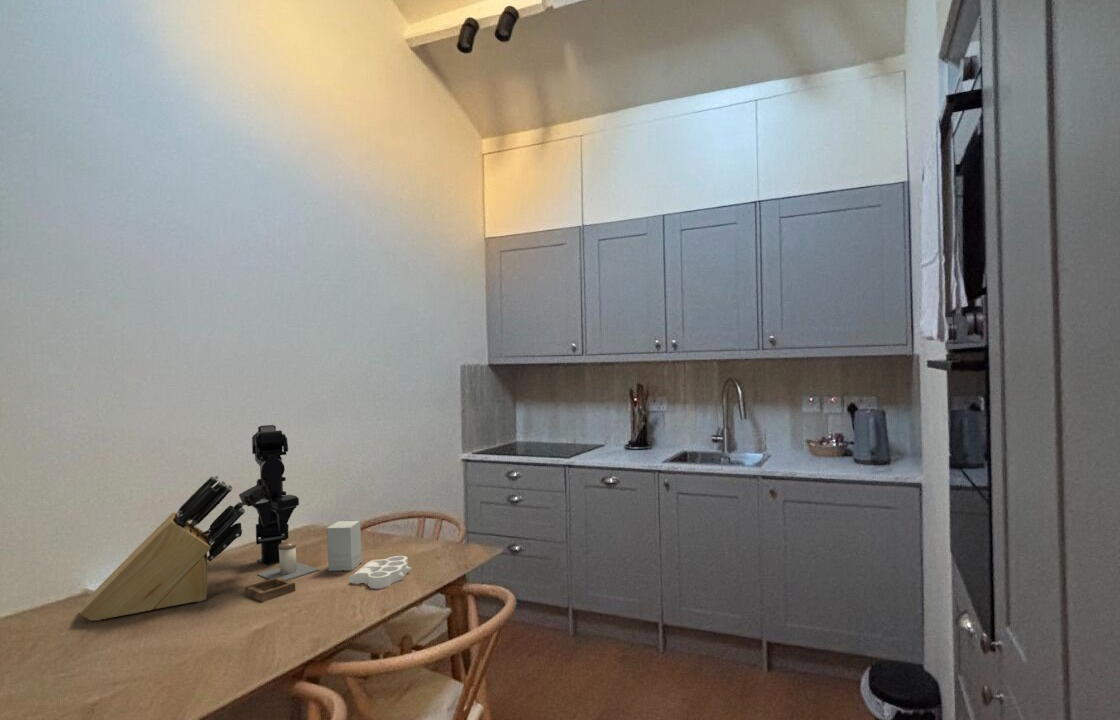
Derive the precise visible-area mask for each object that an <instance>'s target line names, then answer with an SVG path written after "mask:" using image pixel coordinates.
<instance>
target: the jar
mask: <svg viewBox="0 0 1120 720" xmlns="http://www.w3.org/2000/svg"><path fill="white" fill-rule="evenodd" d="M278 547H279V562H278V563H279V567H280V574H290V573H293V572H295V571H297V568H296V562H297V551H296V549H297V542H296V541H294V540H293V541H285V542H282V543H281V544H279V545H278Z"/></svg>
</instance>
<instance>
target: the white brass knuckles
mask: <svg viewBox="0 0 1120 720" xmlns="http://www.w3.org/2000/svg"><path fill="white" fill-rule="evenodd" d="M412 569H413V568H412V567H410V566H409V558H408V557H407V556H406V555H396V556H395V555H394V556H390V557H388V558H384V559H372V560H370V561H368V562H366V563H365V564H364V565H363V566H362V567H360V568H358V570H357V571H356V572H354V573H352V574H351V575H350V576H349V577H348V581H349V582H350V584H352V585H354V584H353V583H358V584H357V585H360V584H359V583H367V584H366V585H367V586H369V587H370V589H373V588H374V589H384V588H387V587H391V586H390V585H392V584H393V583H397V582H399V581H401V580H402V579H403V577H405V576H406V575H407V574H408V572H409V571H411V570H412ZM369 587H368V588H369Z"/></svg>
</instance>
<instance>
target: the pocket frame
mask: <svg viewBox="0 0 1120 720" xmlns="http://www.w3.org/2000/svg"><path fill="white" fill-rule="evenodd" d="M244 590H245V596H248V597H251V598H252V599H255V600H258V601H260V602H265V601H269V600H271V599H275V598H277V597H281V596H283V595H286V594H289V593H292V592H295V591H296V582H293V581H291V580H285V579H282V578H280V577H276V578H273V579H266V580H264V581H260V582H257V583H254V584H251V585H247V586H245V588H244Z"/></svg>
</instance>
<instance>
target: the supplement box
mask: <svg viewBox="0 0 1120 720" xmlns="http://www.w3.org/2000/svg"><path fill="white" fill-rule="evenodd" d="M361 531H362V530H361V521H360V520H353V521H352V520H351V521H350V520H349V521H347V520H345V521H341V520H340V521H339V520H338V521H336V522H334V523H333V524H331V525H329V526H328V527H326V541H327V542H326V543H327V562H328V563H327V564H328V566H327V567H328V571H330V572H331V571H332V572H333V571H341V572H342V570H344V571H353V570H354V569H356V568H357V567H358V566H359V564H360V563H361V564H362V563H363V557H362V556H363V555H362V534H361V533H362V532H361ZM361 564H360V565H361ZM355 567H356V568H355Z"/></svg>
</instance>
